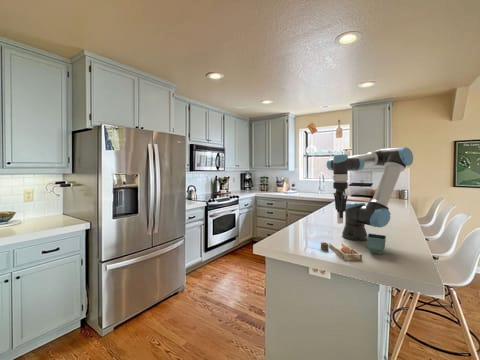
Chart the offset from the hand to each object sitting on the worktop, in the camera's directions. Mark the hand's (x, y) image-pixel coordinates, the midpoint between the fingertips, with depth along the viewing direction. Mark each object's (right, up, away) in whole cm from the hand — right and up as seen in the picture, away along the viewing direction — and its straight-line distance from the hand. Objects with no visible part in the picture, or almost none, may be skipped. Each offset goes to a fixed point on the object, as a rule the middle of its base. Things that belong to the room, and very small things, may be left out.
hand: (340, 223), depth 138 cm
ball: (-1, -13, -10) cm, 16 cm away
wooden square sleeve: (-9, -15, 0) cm, 17 cm away
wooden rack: (-1, -15, -12) cm, 19 cm away
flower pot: (+17, -15, -5) cm, 24 cm away
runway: (-1, -15, -1) cm, 15 cm away
